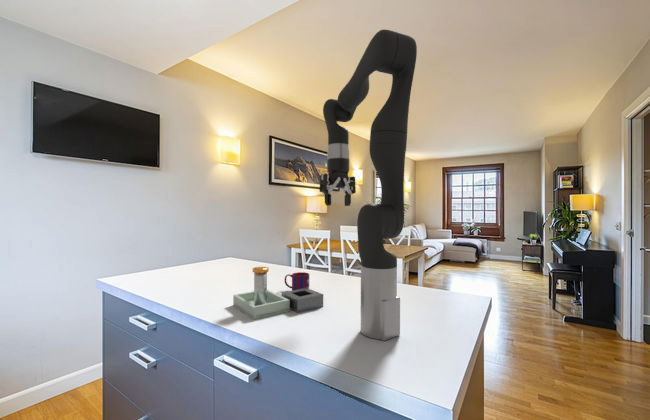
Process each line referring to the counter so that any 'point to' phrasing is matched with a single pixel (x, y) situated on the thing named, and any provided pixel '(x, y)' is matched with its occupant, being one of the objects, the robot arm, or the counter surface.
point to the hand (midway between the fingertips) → (338, 205)
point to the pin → (260, 285)
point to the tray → (272, 307)
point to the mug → (299, 280)
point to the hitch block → (303, 299)
